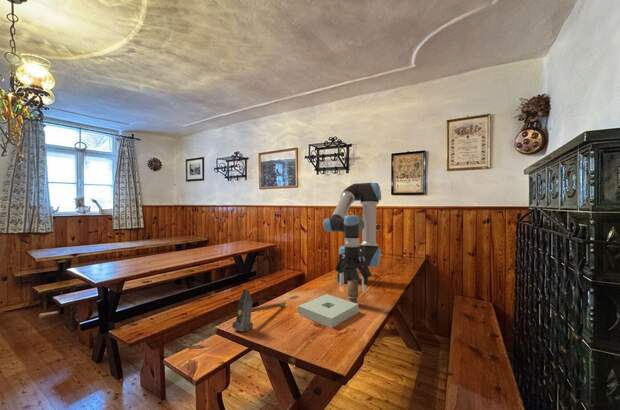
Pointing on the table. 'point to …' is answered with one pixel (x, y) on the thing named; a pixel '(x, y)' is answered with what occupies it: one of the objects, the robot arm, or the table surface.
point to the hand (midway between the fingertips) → (352, 288)
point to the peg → (353, 290)
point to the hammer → (249, 311)
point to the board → (328, 310)
